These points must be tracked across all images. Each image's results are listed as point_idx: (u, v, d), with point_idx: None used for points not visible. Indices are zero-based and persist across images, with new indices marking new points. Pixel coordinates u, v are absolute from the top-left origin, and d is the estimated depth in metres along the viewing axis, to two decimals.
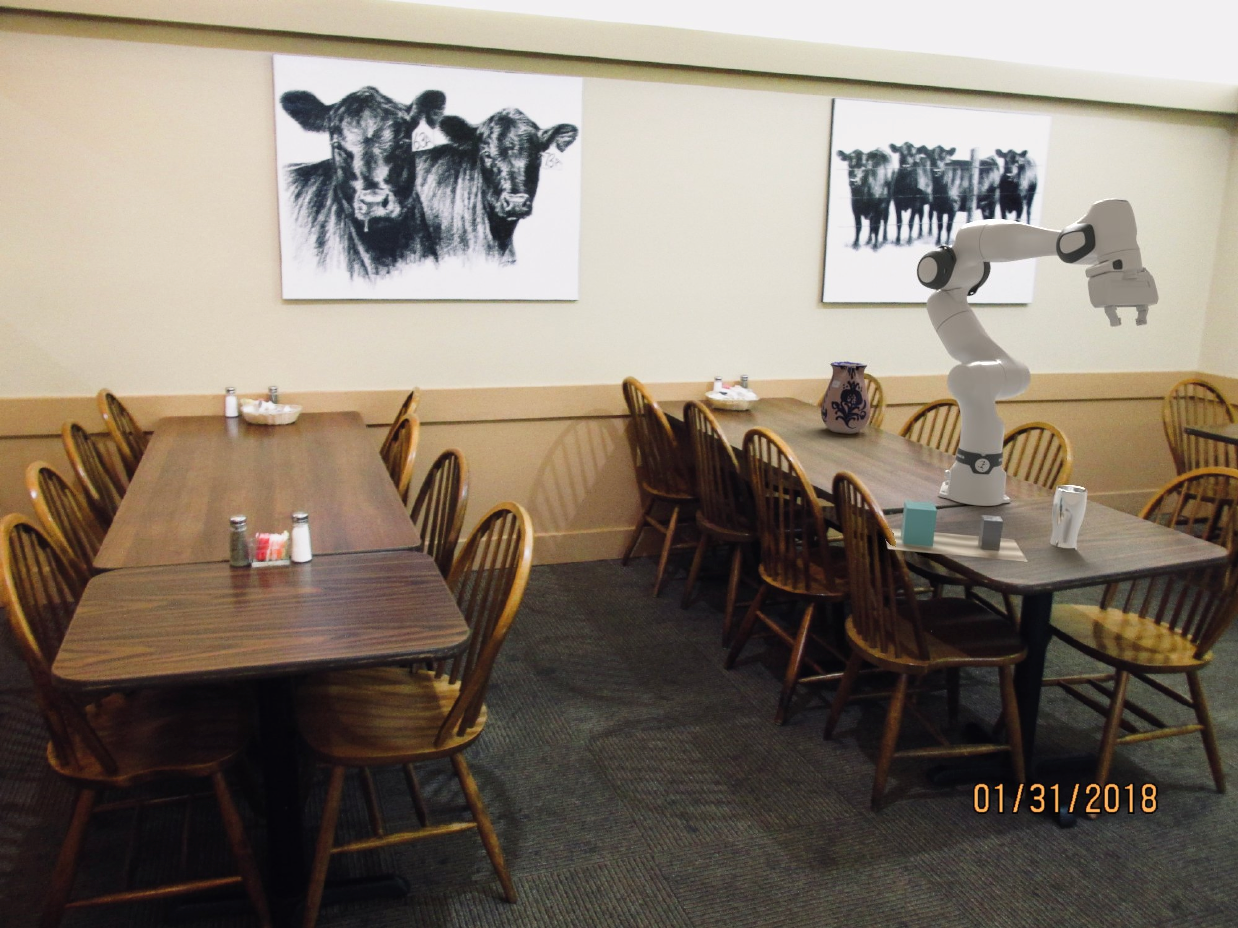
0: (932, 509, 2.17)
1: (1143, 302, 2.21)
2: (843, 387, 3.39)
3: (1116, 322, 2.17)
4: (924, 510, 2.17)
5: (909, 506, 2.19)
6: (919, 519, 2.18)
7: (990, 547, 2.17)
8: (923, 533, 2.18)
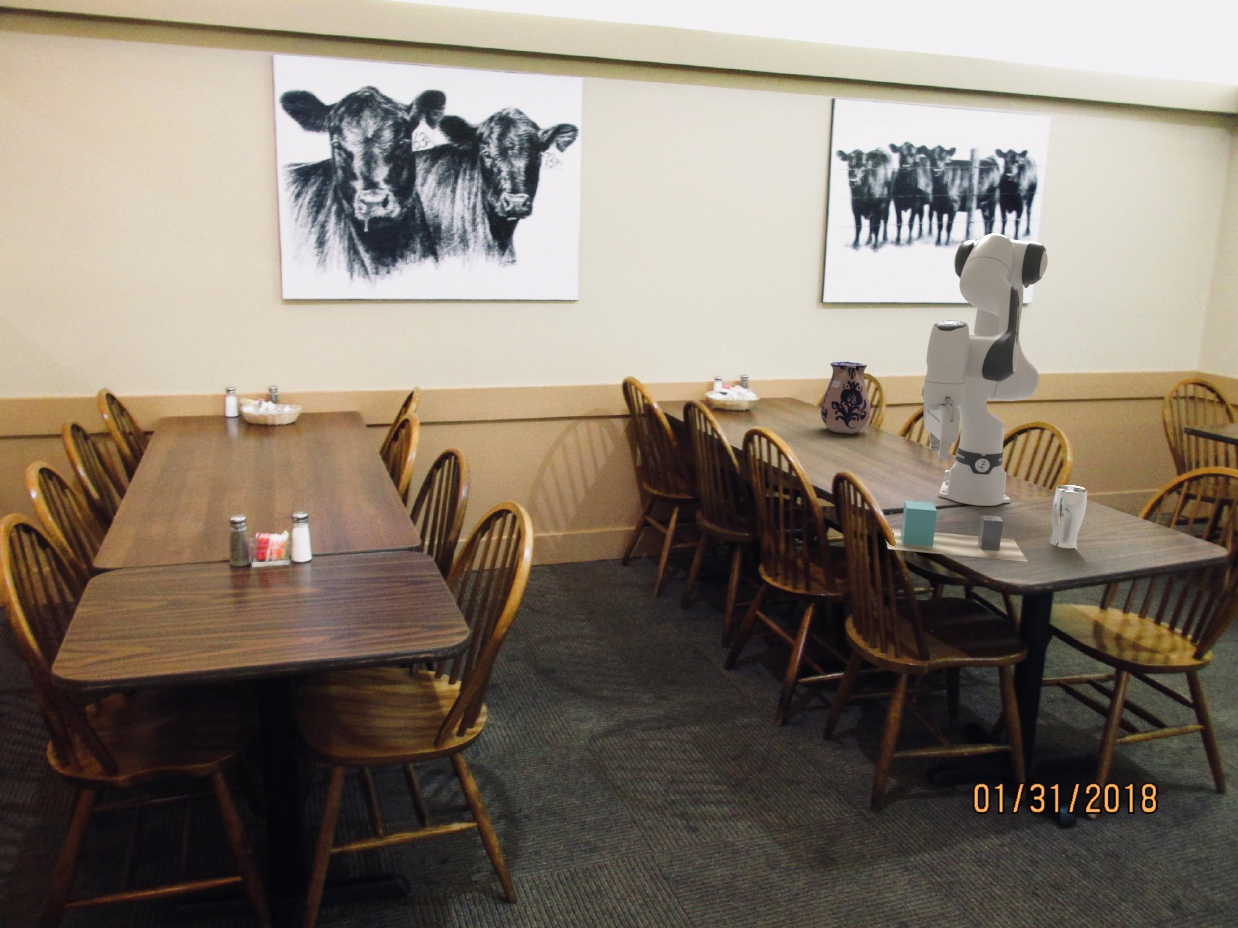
0: (932, 509, 2.17)
1: (935, 435, 2.11)
2: (843, 387, 3.39)
3: None
4: (924, 510, 2.17)
5: (909, 506, 2.19)
6: (919, 519, 2.18)
7: (990, 547, 2.17)
8: (923, 533, 2.18)
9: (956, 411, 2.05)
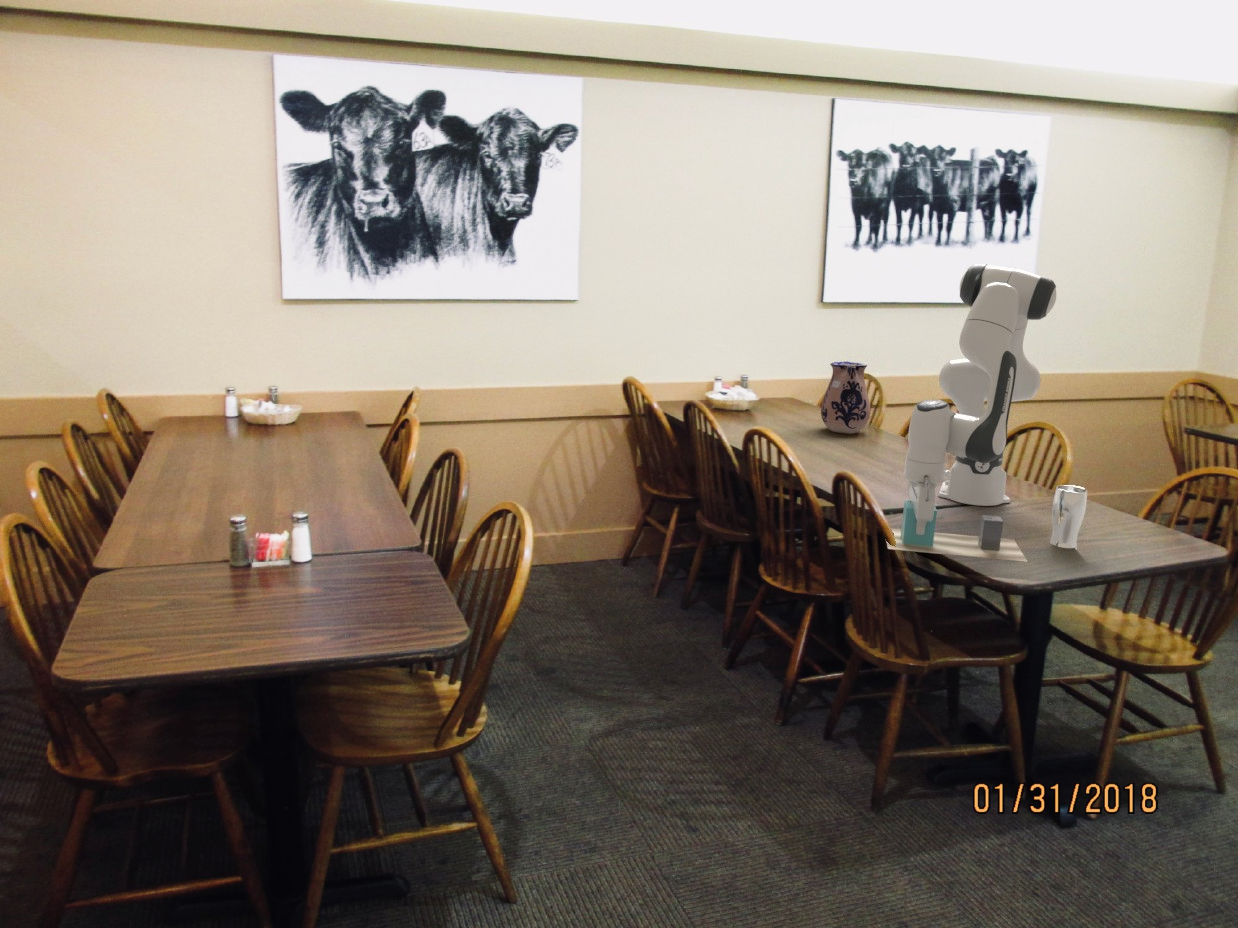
0: None
1: None
2: (843, 387, 3.39)
3: None
4: None
5: (909, 506, 2.19)
6: None
7: (990, 547, 2.17)
8: None
9: (932, 491, 2.10)
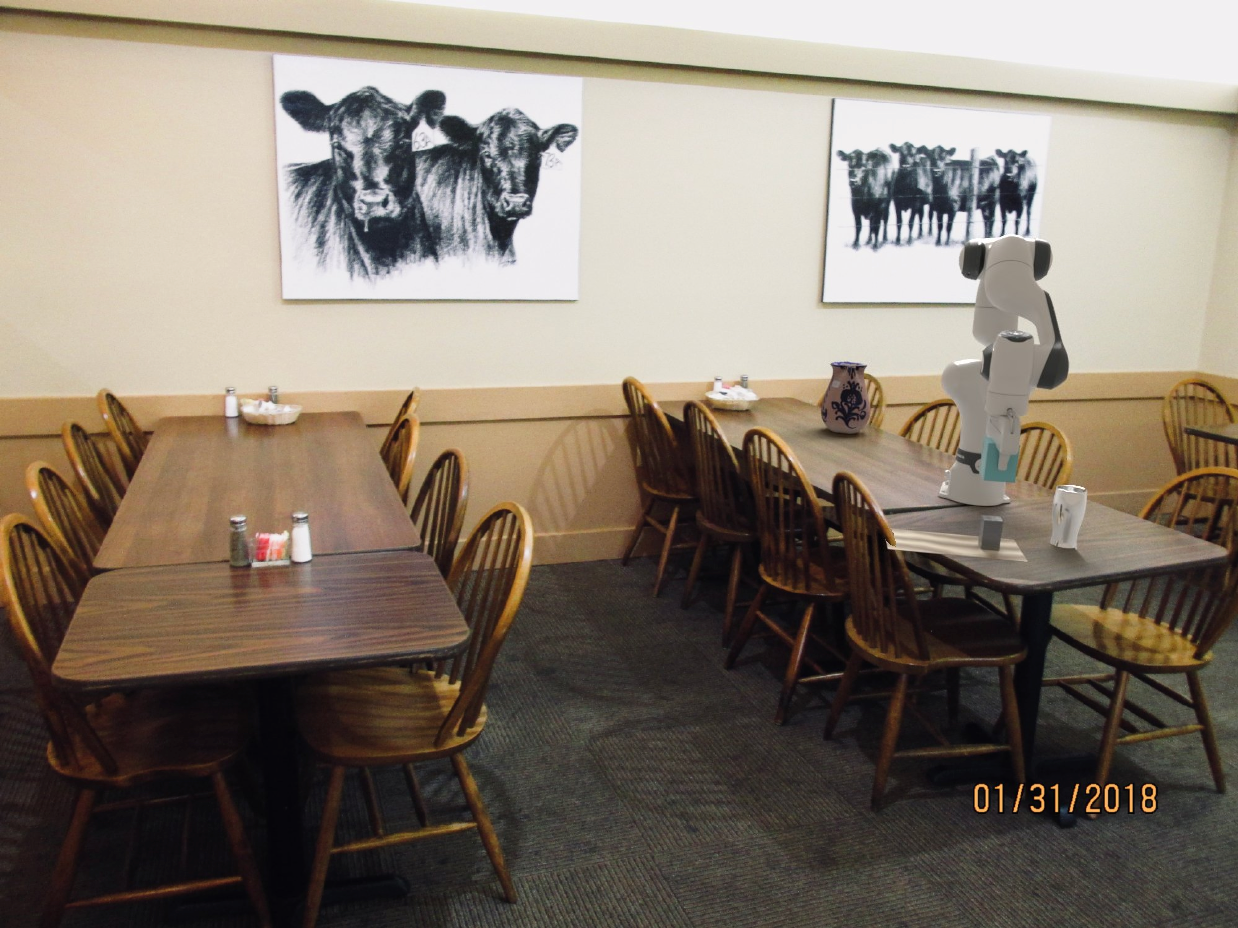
0: None
1: (996, 446, 2.10)
2: (843, 387, 3.39)
3: None
4: None
5: (990, 441, 2.12)
6: None
7: (990, 547, 2.17)
8: None
9: (1017, 423, 2.03)
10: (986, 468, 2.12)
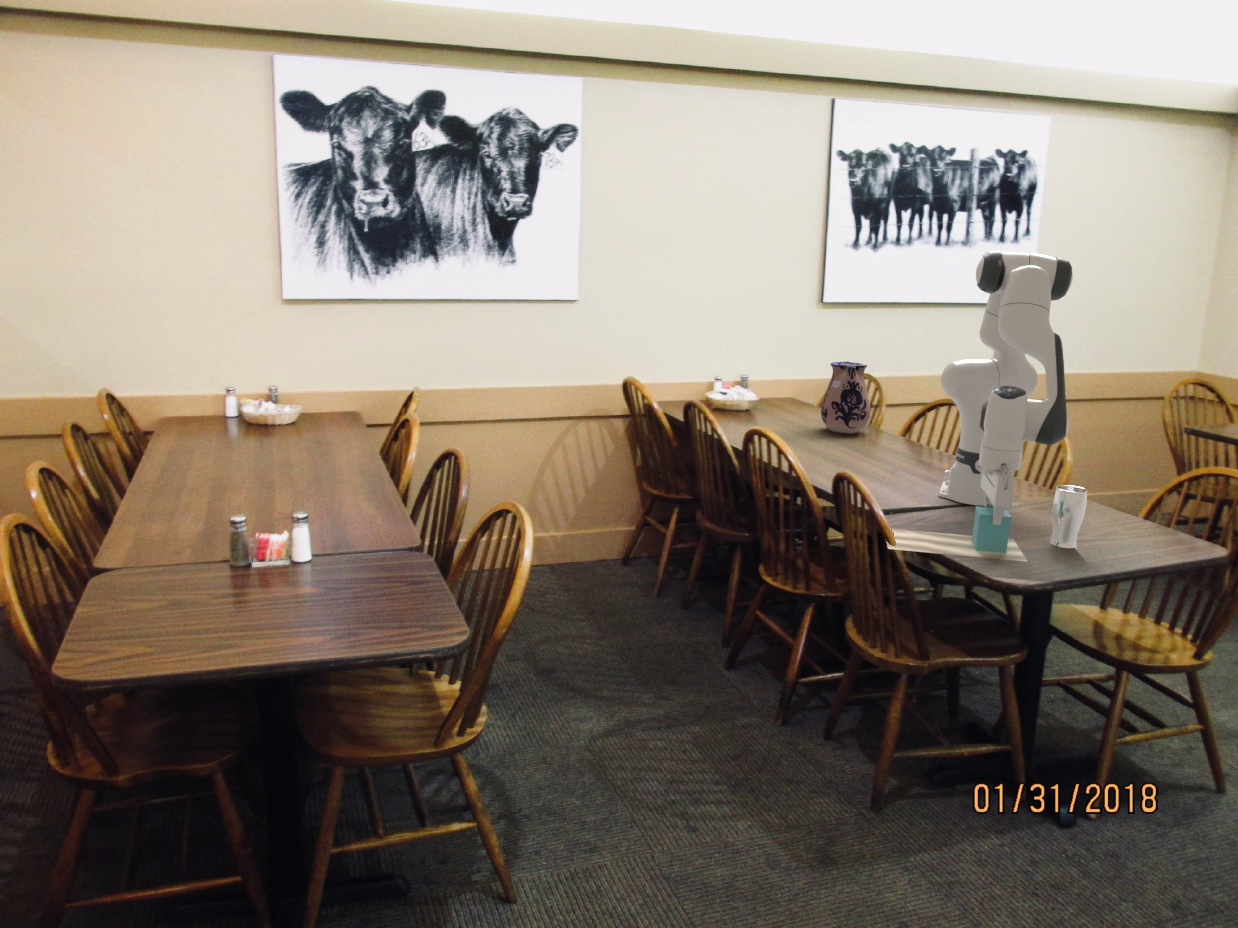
0: (1006, 515, 2.14)
1: (990, 500, 2.13)
2: (843, 387, 3.39)
3: None
4: None
5: (982, 512, 2.16)
6: (993, 525, 2.15)
7: None
8: (996, 540, 2.15)
9: (1011, 479, 2.06)
10: (978, 538, 2.16)
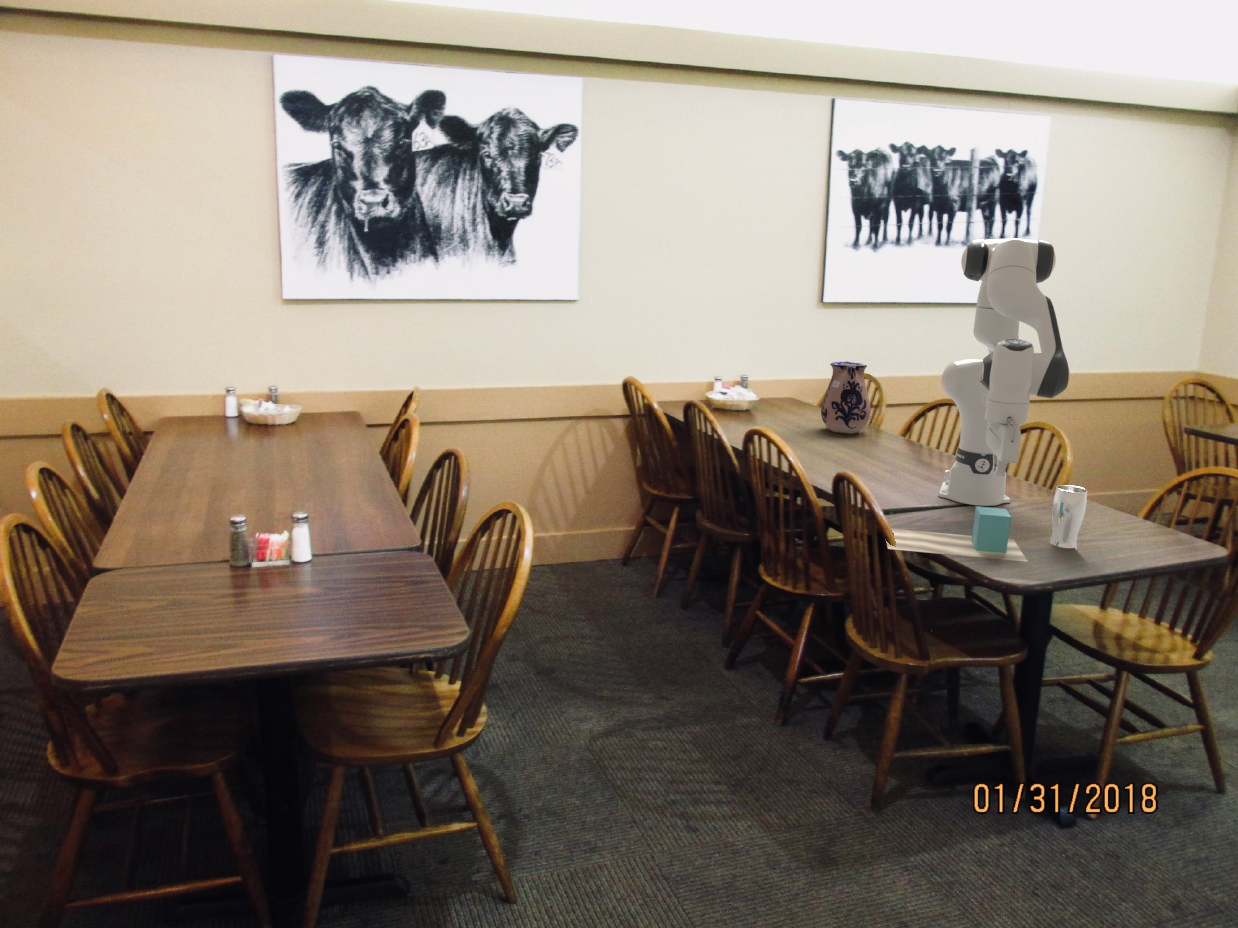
0: (1006, 515, 2.14)
1: (996, 455, 2.10)
2: (843, 387, 3.39)
3: None
4: (998, 516, 2.14)
5: (982, 512, 2.16)
6: (993, 525, 2.15)
7: None
8: (996, 540, 2.15)
9: (1017, 432, 2.04)
10: (978, 538, 2.16)
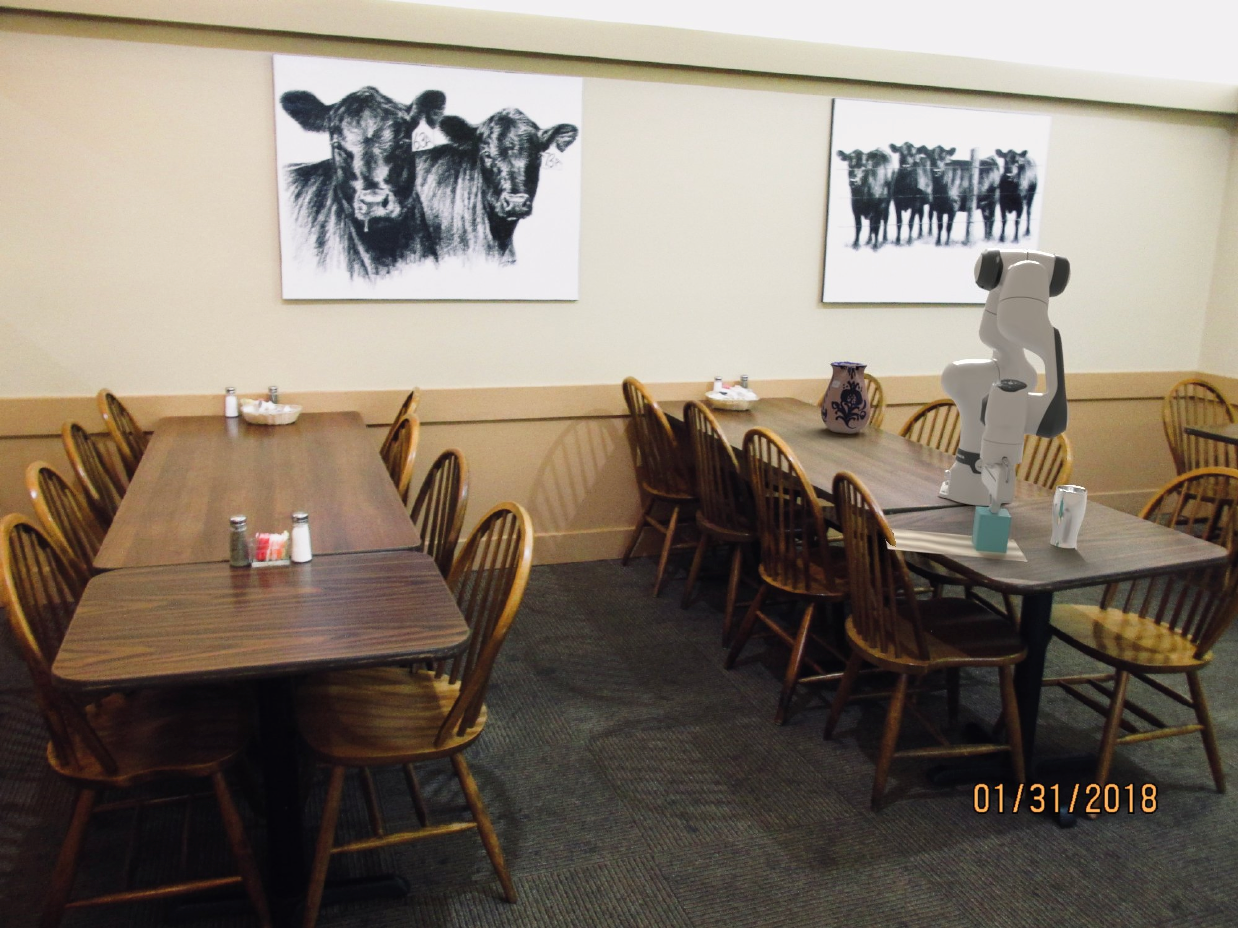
0: (1006, 515, 2.14)
1: (991, 494, 2.13)
2: (843, 387, 3.39)
3: None
4: (998, 516, 2.14)
5: (982, 512, 2.16)
6: (993, 525, 2.15)
7: None
8: (996, 540, 2.15)
9: (1012, 472, 2.06)
10: (978, 538, 2.16)
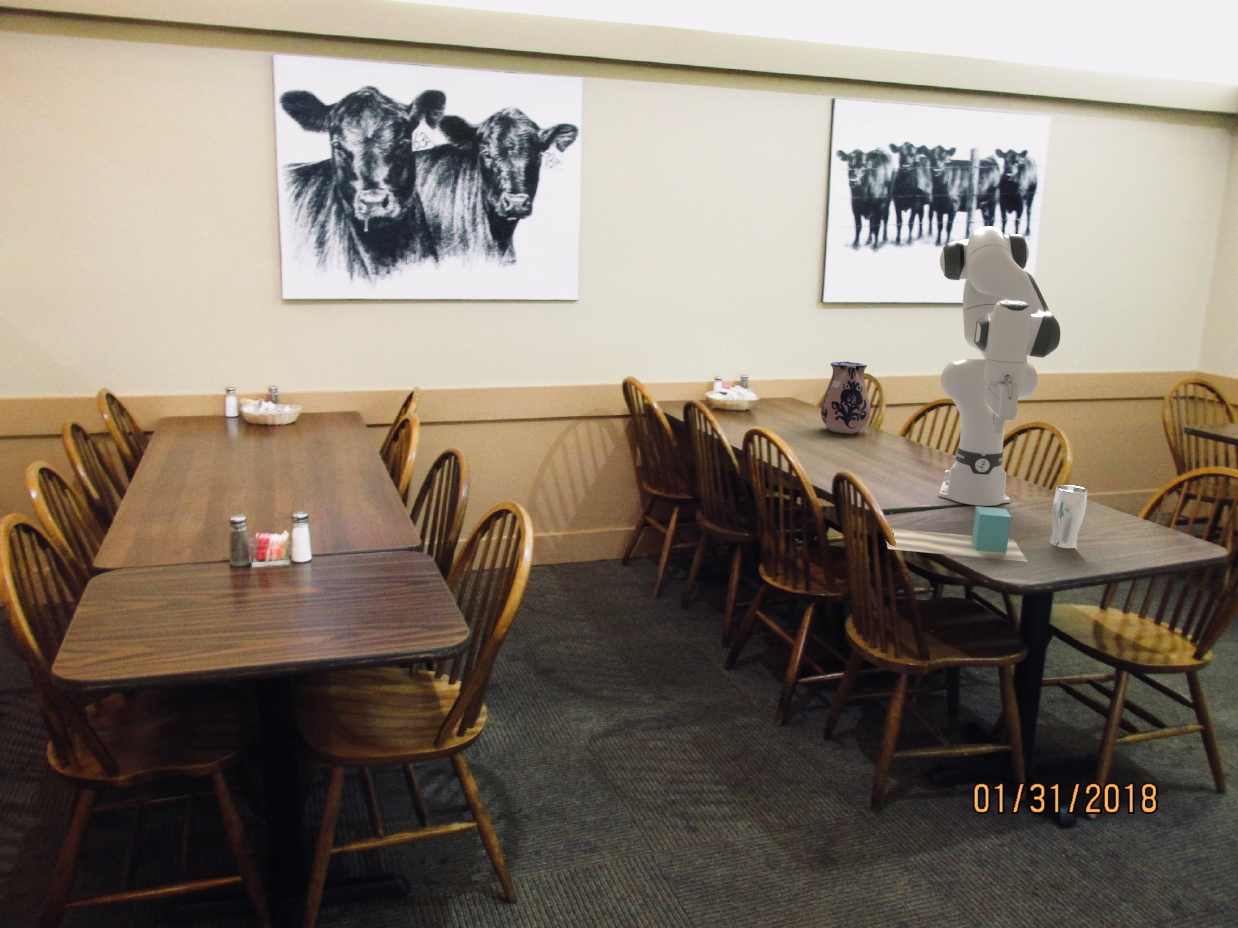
0: (1006, 515, 2.14)
1: (994, 413, 2.16)
2: (843, 387, 3.39)
3: None
4: (998, 516, 2.14)
5: (982, 512, 2.16)
6: (993, 525, 2.15)
7: None
8: (996, 540, 2.15)
9: (1015, 389, 2.09)
10: (978, 538, 2.16)
